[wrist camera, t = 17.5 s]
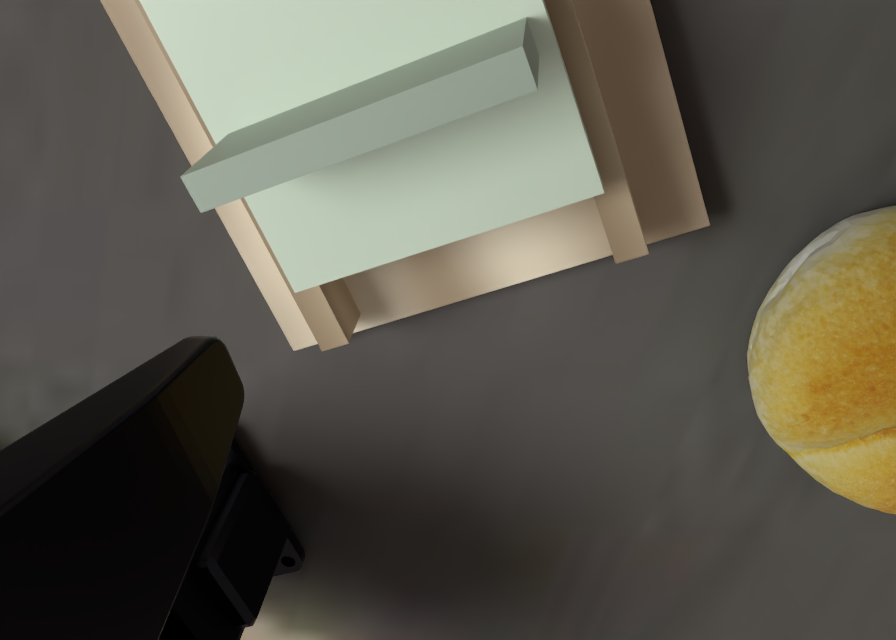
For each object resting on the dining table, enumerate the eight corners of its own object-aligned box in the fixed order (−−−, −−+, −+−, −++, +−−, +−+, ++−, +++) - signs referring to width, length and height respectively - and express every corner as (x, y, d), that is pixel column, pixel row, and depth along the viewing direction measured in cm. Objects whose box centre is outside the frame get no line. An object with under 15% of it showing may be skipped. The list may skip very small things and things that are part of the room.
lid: (300, 281, 21) (260, 353, 18) (147, -11, 18) (67, 17, 15) (602, 183, 19) (613, 246, 16) (489, -168, 16) (476, -172, 13)
